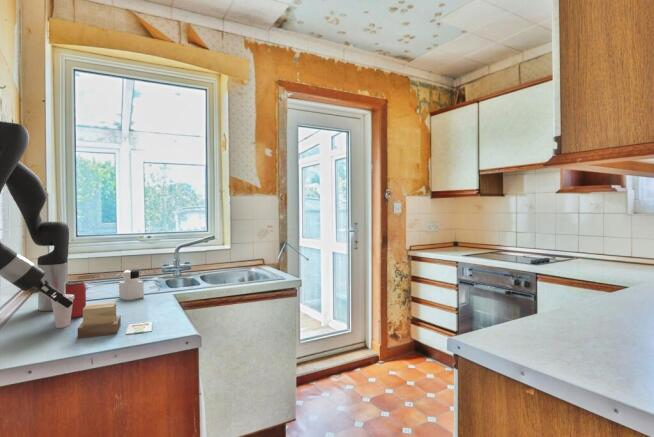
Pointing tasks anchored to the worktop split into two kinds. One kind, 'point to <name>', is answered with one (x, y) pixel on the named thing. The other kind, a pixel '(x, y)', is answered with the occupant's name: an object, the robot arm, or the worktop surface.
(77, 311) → the beer can
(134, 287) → the medicine bottle
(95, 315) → the oak brick
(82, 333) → the base slab
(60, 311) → the smoothie
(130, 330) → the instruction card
